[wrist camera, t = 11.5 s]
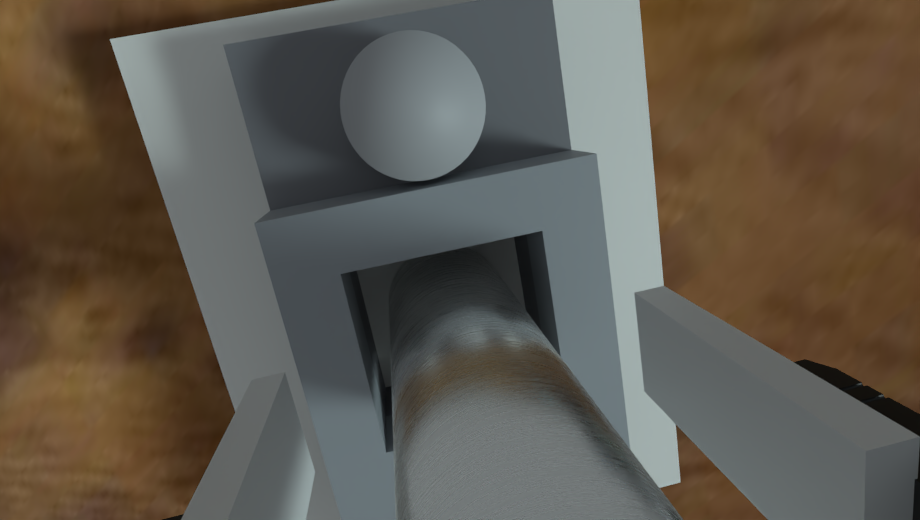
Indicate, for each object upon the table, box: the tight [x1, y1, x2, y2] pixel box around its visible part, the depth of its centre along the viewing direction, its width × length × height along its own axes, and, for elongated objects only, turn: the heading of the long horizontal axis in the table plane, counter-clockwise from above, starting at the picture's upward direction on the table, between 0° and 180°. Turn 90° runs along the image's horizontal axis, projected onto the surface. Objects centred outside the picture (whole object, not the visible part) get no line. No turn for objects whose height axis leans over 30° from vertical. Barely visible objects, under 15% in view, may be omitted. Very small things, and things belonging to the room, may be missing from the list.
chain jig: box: [110, 0, 680, 520], centre depth 17 cm, size 20×16×6 cm
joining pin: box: [389, 247, 683, 520], centre depth 12 cm, size 4×4×14 cm
